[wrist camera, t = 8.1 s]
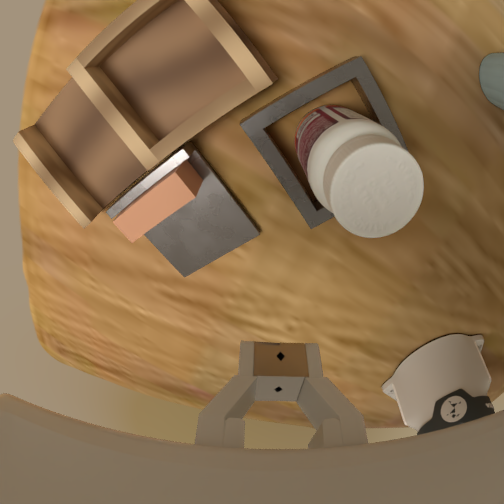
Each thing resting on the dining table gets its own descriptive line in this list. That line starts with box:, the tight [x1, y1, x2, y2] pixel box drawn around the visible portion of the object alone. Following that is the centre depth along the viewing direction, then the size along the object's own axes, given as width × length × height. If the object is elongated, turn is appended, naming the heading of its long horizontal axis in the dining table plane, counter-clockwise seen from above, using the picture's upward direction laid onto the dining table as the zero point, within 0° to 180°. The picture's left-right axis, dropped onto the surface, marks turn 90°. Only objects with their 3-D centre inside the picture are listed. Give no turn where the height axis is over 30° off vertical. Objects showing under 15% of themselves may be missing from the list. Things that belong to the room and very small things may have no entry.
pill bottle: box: [294, 105, 424, 238], centre depth 19 cm, size 6×6×11 cm
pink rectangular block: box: [113, 159, 203, 243], centre depth 24 cm, size 2×7×4 cm, turn 124°
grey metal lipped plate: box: [106, 141, 260, 277], centre depth 26 cm, size 10×9×3 cm
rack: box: [13, 0, 278, 228], centre depth 20 cm, size 11×20×4 cm, turn 124°
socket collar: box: [240, 56, 408, 229], centre depth 22 cm, size 10×10×2 cm
